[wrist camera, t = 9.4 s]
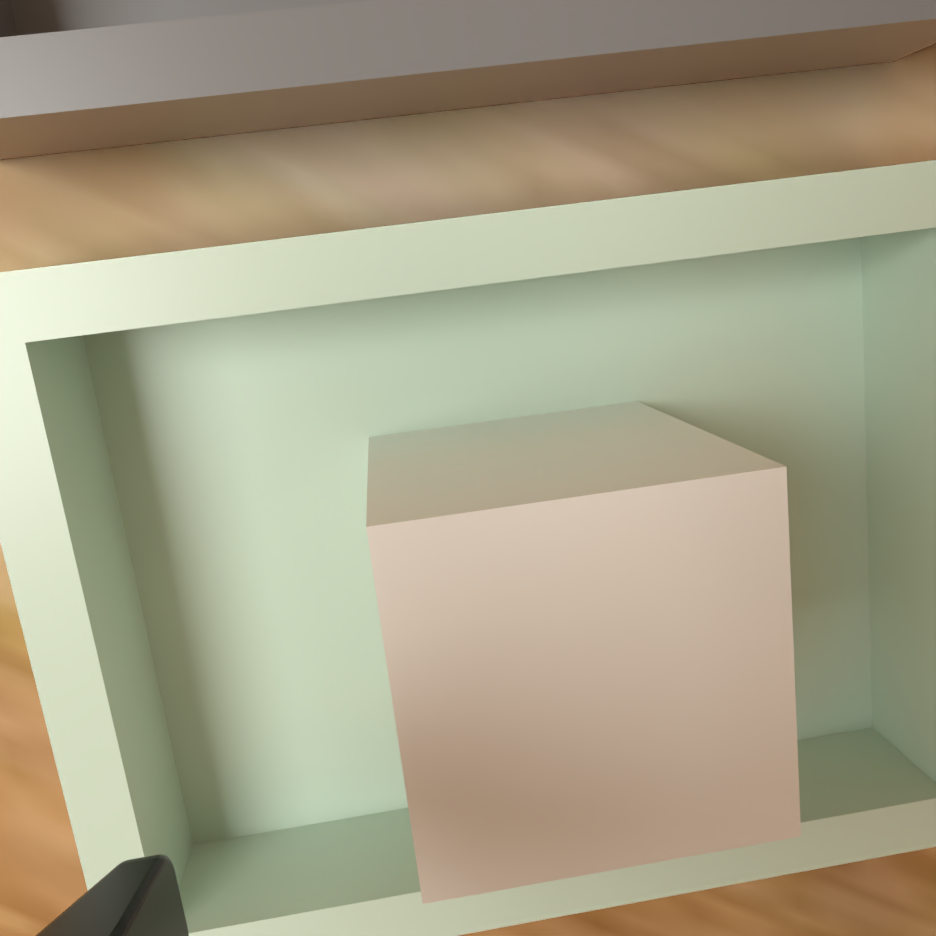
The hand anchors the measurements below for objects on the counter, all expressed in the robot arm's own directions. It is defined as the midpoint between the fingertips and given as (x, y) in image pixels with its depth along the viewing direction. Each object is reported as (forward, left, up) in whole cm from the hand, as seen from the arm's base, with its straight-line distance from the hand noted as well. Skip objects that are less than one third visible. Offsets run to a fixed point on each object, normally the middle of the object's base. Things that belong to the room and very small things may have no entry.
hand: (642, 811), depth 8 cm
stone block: (0, 0, -8) cm, 8 cm away
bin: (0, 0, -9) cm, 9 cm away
